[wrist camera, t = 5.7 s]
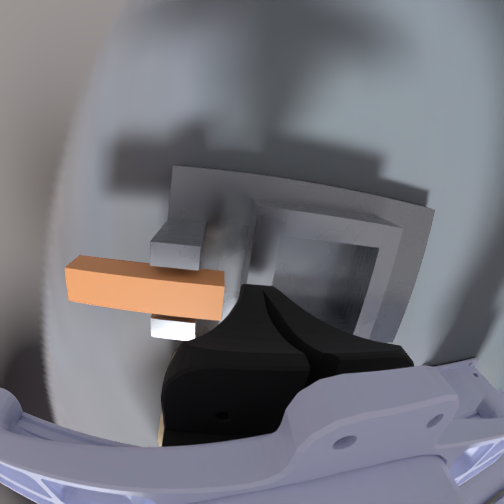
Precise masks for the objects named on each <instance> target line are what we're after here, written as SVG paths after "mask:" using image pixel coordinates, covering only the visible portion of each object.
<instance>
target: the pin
mask: <svg viewBox="0 0 504 504" xmlns="http://www.w3.org/2000/svg"><path fill="white" fill-rule="evenodd" d="M65 275H66V283H67V291H68V298H69V301H74V302H79V303H85V304H91V305H97V306H103V307H109V308H116V309H122V310H129V311H136V312H144V313H152V314H160V315H168V316H177V317H186V318H196V319H207V320H218V321H221V316H222V307H223V297H224V288H225V279H224V271H219V270H209V269H199V271H198V270H188V269H178V268H168V267H159V266H150V263H142V262H133V261H124V260H116V259H107V258H99V257H91V256H82V255H79V256H78V257H77V258H76V259H75V260H73V261H72V262H71V263H70V264H69V265H67V266H66V267H65Z"/></svg>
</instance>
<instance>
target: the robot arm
mask: <svg viewBox="0 0 504 504" xmlns="http://www.w3.org/2000/svg"><path fill="white" fill-rule="evenodd" d="M477 361H478V360H477V359H476V358H473V359H469V360H464V361H460V362H455V363H450V364H445V365H440V366H435V367H431V366H425V365H421V366H415V367H414V363H413V361H412V360H411V358H410V357H409V356H408V355H407V353H406V352H405V351H404V349H403V348H402V347H401V346H399V345H393V344H388V343H382V342H377V341H373V340H369V339H365V338H362V337H359V336H356V335H353V334H350V333H347V332H345V331H342V330H340V329H337V328H335V327H333V326H331V325H329V324H327V323H325V322H323V321H321V320H320V319H318V318H316V317H314V316H313V315H311V314H310V313H308V312H307V311H305V310H304V309H302V308H301V307H300V306H298V305H297V304H296V303H294V302H293V301H292V300H291V299H289V298H288V297H287V296H286V295H284V294H283V293H282V292H281V291H279V290H278V289H277V288H275V287H274V286H267V285H255V284H243V285H241V287H240V295H239V298H238V300H237V302H236V304H235V305H234V307H233V308H232V310H231V311H230V313H229V314H228V315H227V316H226V318H225V319H224V320H223V321H222V322H221V323H219V324H218V325H217V326H216V327H215V328H214V329H212V330H211V331H209V332H208V333H206V334H204V335H202V336H199V337H197V338H194V339H191V340H188V341H185V342H183V343H182V344H181V345H180V346H179V348H178V350H177V351H176V353H175V355H174V356H173V358H172V360H171V362H170V364H169V367H168V369H167V372H166V374H165V377H164V381H163V387H162V393H161V405H162V414H163V422H164V433H163V440H162V447H140V446H135V445H130V444H125V443H120V442H115V441H111V440H107V439H103V438H99V437H95V436H91V435H88V434H84V433H81V432H77V431H74V430H71V429H68V428H65V427H62V426H59V425H56V424H53V423H50V422H47V421H45V420H42V419H39V418H37V417H34V416H32V415H29V414H27V413H25V412H23V411H22V409H21V406H20V404H19V402H18V400H17V399H16V398H15V397H14V395H12V394H11V393H10V392H9V391H7V390H5V389H3V388H0V483H2V484H4V485H6V486H7V487H9V488H10V489H12V490H14V491H16V492H17V493H19V494H21V495H23V496H25V497H26V498H28V499H31V500H32V501H34V502H36V503H38V504H486V503H487V502H488V501H490V500H491V499H492V498H493V497H495V496H496V495H497V494H498V493H499V492H501V491H502V490H503V489H504V391H503V390H502V389H498V390H496V389H495V388H494V387H493V386H492V385H491V384H490V383H489V381H488V380H487V379H486V378H485V377H484V376H483V375H482V374H481V373H480V372H479V371H478V370H477V369H476V368H475V365H476V363H477ZM491 504H504V493H503V494H502V495H501V496H500V497H498V498H497V499H496V500H495V501H493V502H492V503H491Z"/></svg>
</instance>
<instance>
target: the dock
mask: <svg viewBox="0 0 504 504" xmlns="http://www.w3.org/2000/svg"><path fill="white" fill-rule="evenodd" d="M434 212H435V210H433V209H431V208H428V207H425V206H421V205H417V204H413V203H409V202H405V201H401V200H397V199H392V198H388V197H384V196H379V195H375V194H370V193H365V192H361V191H356V190H351V189H346V188H341V187H336V186H330V185H325V184H319V183H314V182H308V181H302V180H296V179H289V178H283V177H276V176H269V175H262V174H255V173H247V172H239V171H231V170H222V169H213V168H203V167H192V166H180V165H175V166H173V169H172V179H171V190H170V201H169V215H168V220H167V221H166V222H165V224H164V225H163V226H162V227H161V229H160V230H159V231H158V232H157V234H156V235H155V236H154V238H153V239H152V240H151V241H150V266H159V267H168V268H178V269H188V270H198V271H199V269H209V270H219V271H224V279H225V288H224V297H223V307H222V316H221V321H218V320H207V319H196V318H186V317H177V316H168V315H160V314H152V316H151V318H150V319H151V337H158V338H166V339H174V340H183V341H188V340H191V339H194V338H197V337H199V336H202V335H204V334H206V333H208V332H209V331H211V330H212V329H214V328H215V327H216V326H217V325H218V324H219V323H221V322H222V321H223V320H224V319H225V318H226V316H227V315H228V314H229V313H230V311H231V310H232V308H233V307H234V305H235V304H236V302H237V300H238V298H239V295H240V287H241V285H243V284H255V285H267V286H274V287H275V288H277V289H278V290H279V291H281V292H282V293H283V294H284V295H286V296H287V297H288V298H289V299H291V300H292V301H293V302H294V303H296V304H297V305H298V306H300V307H301V308H302V309H304V310H305V311H307V312H308V313H310V314H311V315H313V316H314V317H316V318H318V319H320V320H321V321H323V322H325V323H327V324H329V325H331V326H333V327H335V328H337V329H340V330H342V331H345V332H347V333H350V334H353V335H356V336H359V337H362V338H365V339H369V340H373V341H377V342H382V343H386V342H393V340H394V338H395V336H396V333H397V331H398V328H399V326H400V323H401V321H402V318H403V316H404V313H405V310H406V308H407V305H408V302H409V299H410V296H411V294H412V291H413V288H414V285H415V282H416V279H417V275H418V272H419V269H420V266H421V262H422V259H423V256H424V252H425V248H426V245H427V241H428V237H429V233H430V229H431V225H432V221H433V217H434Z"/></svg>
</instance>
